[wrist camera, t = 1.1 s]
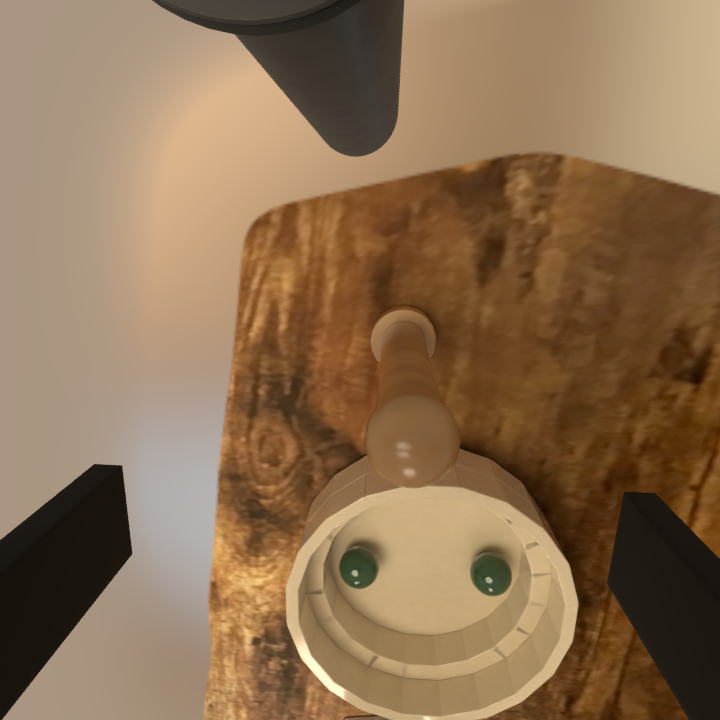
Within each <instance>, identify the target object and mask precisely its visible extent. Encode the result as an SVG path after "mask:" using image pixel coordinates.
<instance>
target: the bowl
mask: <svg viewBox="0 0 720 720" xmlns="http://www.w3.org/2000/svg"><path fill="white" fill-rule="evenodd" d="M358 545H361V546H365V547H368V548H369V549H371V550H372V551H373V552H374V553H375V554H376V556H377V558H378V561H379V574H378V576H377V578H376V580H375V582H374V583H373V584H372V585H370V586H369V587H367V588H364V589H354V588H351V587H349V586H348V585H347V584H346V583H345V582H344V581H343V580H342V578H341V576H340V572H339V563H340V559H341V557H342V555H343V554H344V552H345V551H346V550H348V549H349V548H351V547H353V546H358ZM484 552H494V553H497V554H499V555H501V556H502V557H503V558H504V559H505V560H506V561H507V562H508V564H509V565H510V568H511V571H512V582H511V585H510V587H509V588H508V590H507V591H506V592H505V593H503V594H502V595H499V596H487V595H484V594H482V593H481V592H479V591H478V590H477V589H476V588H475V586H474V585H473V583H472V581H471V578H470V566H471V563H472V561H473V560H474V558H475V557H476V556H478V555H479V554H481V553H484ZM285 590H286V618H287V626H288V629H289V631H290V633H291V636H292V638H293V640H294V643H295V645H296V648H297V650H298V652H299V655H300V657H301V659H302V660H303V662H304V663H305V664H306V665H307V666H308V667H309V668H310V670H311V671H312V672H313V673H314V674H315V675H316V676H317V678H318V679H319V680H320V681H321V682H322V683H323V684H324V685H325V687H326V688H327V689H328V690H330V691H332V692H333V693H335V694H336V695H338V696H339V697H341V698H343V699H344V700H346V701H347V702H349V703H350V704H352V705H354V706H355V707H357V708H358V709H360V710H362V711H365V712H368V713H372V714H375V715H378V716H381V717H384V718H387V719H390V720H479V719H484V718H488V717H490V716H492V715H494V714H497V713H499V712H501V711H503V710H505V709H508V708H510V707H512V706H514V705H516V704H519V703H521V702H522V701H524V700H525V699H526V698H527V697H528V696H529V695H531V694H532V693H533V692H534V691H535V690H536V689H538V688H539V687H540V686H541V685H542V684H543V683H544V682H546V681H547V680H548V679H549V678H550V677H551V676H552V675H553V674H554V673H555V671H556V669H557V668H558V666H559V664H560V663H561V661H562V659H563V657H564V656H565V654H566V652H567V651H568V649H569V647H570V645H571V644H572V641H573V636H574V630H575V624H576V617H577V611H578V605H579V604H578V598H577V594H576V590H575V585H574V581H573V577H572V573H571V569H570V565H569V563H568V561H567V559H566V557H565V555H564V553H563V551H562V549H561V547H560V545H559V543H558V541H557V539H556V538H555V535H554V534H553V532H552V530H551V528H550V526H549V524H548V522H547V520H546V518H545V516H544V514H543V512H542V511H541V509H540V508H539V506H538V505H537V504H536V502H535V501H534V499H533V498H532V496H531V495H530V493H529V492H528V491H527V489H526V488H525V486H524V485H523V483H522V482H521V481H519V480H518V479H517V478H515V477H514V476H513V475H511V474H510V473H509V472H507V471H506V470H504V469H503V468H502V467H500V466H499V465H498V464H496V463H495V462H494V461H492V460H491V459H488V458H485V457H482V456H480V455H477V454H474V453H471V452H468V451H465V450H462V449H459V454H458V457H457V460H456V462H455V464H454V466H453V467H452V469H451V470H450V471H449V472H448V474H447V475H446V476H444V477H443V478H442V479H441V480H439V481H438V482H436V483H434V484H432V485H429V486H426V487H422V488H404V487H400V486H397V485H395V484H393V483H391V482H389V481H387V480H386V479H384V478H383V477H382V476H381V475H380V474H379V473H378V472H377V471H376V470H375V469H374V467H373V466H372V464H371V462H370V460H369V458H368V455H366V456H365V457H363V458H361V459H360V460H358V461H357V462H355V463H353V464H352V465H350V466H348V467H347V468H345V469H344V470H342V471H340V472H339V473H337V474H336V475H334V477H333V478H332V479H331V480H330V481H329V483H328V484H327V485H326V486H325V488H324V489H323V490H322V491H321V492H320V494H319V495H318V496H317V497H316V498H315V500H314V501H313V502H312V504H311V507H310V510H309V513H308V515H307V518H306V521H305V524H304V527H303V530H302V532H301V536H300V539H299V542H298V546H297V549H296V553H295V556H294V560H293V563H292V566H291V570H290V573H289V577H288V580H287V583H286V588H285Z"/></svg>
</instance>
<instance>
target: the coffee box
mask: <svg viewBox="0 0 720 720" xmlns="http://www.w3.org/2000/svg"><path fill="white" fill-rule="evenodd" d="M344 720H390V719H387V718H384V717H381V716H369V717H351V718H345V719H344Z"/></svg>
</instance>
